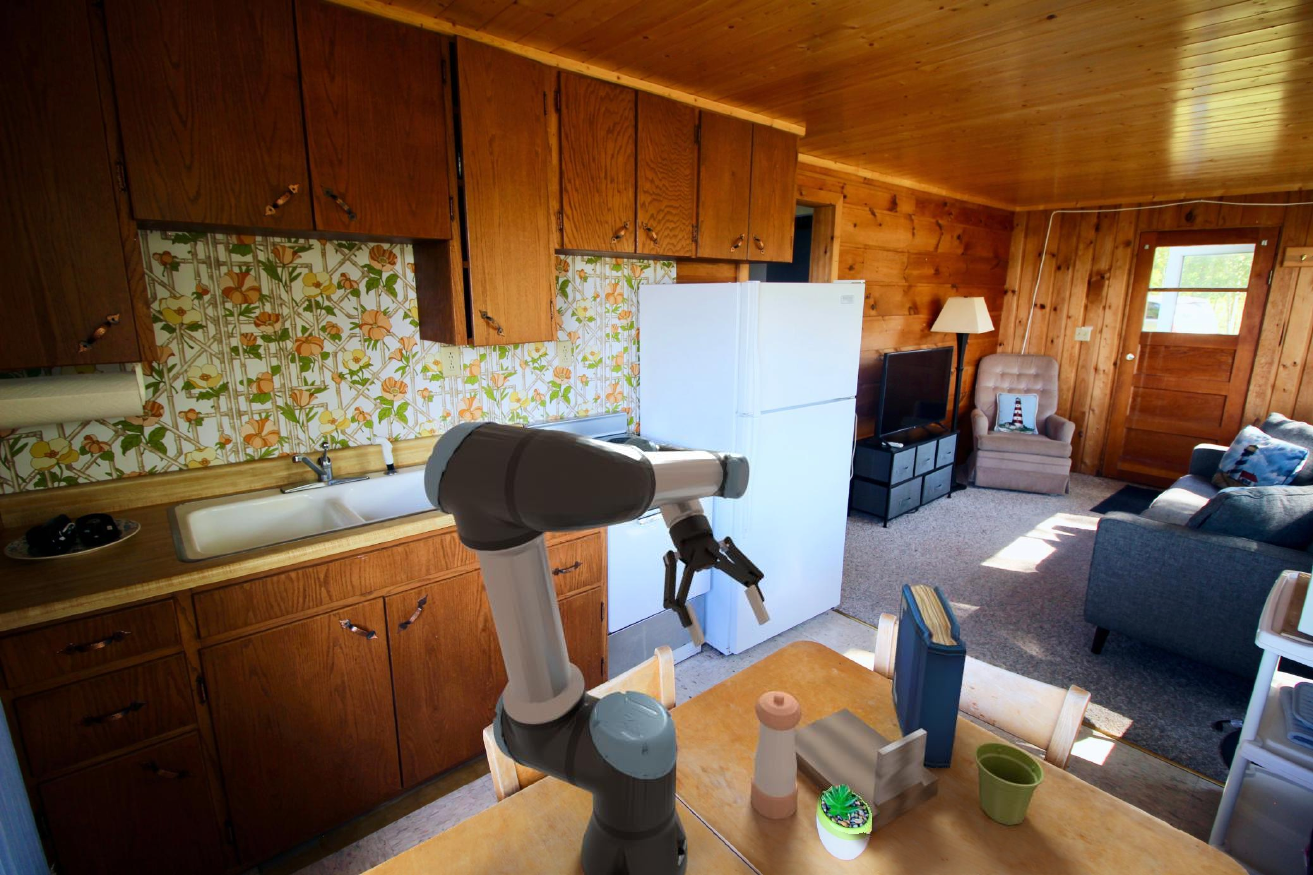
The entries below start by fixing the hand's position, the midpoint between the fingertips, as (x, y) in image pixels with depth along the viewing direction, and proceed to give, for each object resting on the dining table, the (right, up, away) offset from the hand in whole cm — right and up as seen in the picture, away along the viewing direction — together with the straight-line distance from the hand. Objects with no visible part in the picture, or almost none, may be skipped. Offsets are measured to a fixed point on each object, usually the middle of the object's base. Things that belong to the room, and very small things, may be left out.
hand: (733, 633), depth 104 cm
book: (+36, -22, +10) cm, 43 cm away
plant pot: (+41, -26, -7) cm, 49 cm away
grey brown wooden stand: (+21, -24, 0) cm, 31 cm away
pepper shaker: (+6, -25, -6) cm, 26 cm away
